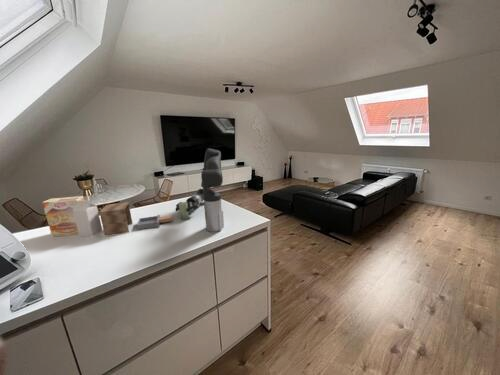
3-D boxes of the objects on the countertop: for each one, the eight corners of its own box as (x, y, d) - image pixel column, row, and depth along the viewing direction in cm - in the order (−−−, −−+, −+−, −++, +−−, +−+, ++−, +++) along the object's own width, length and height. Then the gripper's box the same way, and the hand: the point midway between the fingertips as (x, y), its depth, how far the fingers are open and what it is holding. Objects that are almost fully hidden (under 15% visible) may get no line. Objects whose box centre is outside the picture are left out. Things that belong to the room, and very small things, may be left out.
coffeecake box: (51, 237, 105) (41, 202, 100) (60, 231, 112) (50, 198, 106) (85, 233, 109) (76, 199, 104) (91, 227, 115) (83, 195, 110)
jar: (190, 216, 128) (188, 202, 125) (186, 220, 123) (184, 205, 121) (183, 216, 129) (181, 201, 126) (179, 219, 124) (177, 204, 121)
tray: (171, 217, 127) (171, 212, 127) (172, 224, 117) (171, 220, 116) (140, 222, 121) (139, 217, 120) (137, 230, 111) (136, 225, 110)
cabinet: (132, 223, 120) (128, 202, 116) (128, 232, 109) (124, 209, 105) (111, 226, 116) (106, 204, 113) (104, 236, 105) (99, 212, 102)
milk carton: (92, 237, 104) (84, 203, 99) (79, 237, 105) (70, 203, 100) (102, 230, 111) (95, 198, 106) (90, 230, 111) (82, 198, 106)
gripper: (184, 195, 138) (170, 203, 123) (203, 196, 136) (192, 204, 120) (185, 205, 140) (171, 214, 125) (204, 206, 138) (193, 216, 122)
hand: (181, 209), depth 122 cm, fingers open, 7 cm apart
